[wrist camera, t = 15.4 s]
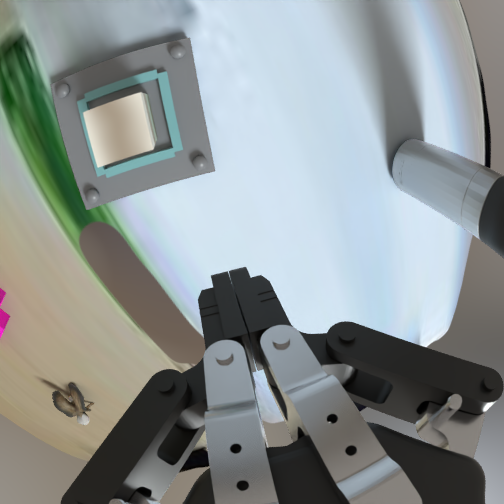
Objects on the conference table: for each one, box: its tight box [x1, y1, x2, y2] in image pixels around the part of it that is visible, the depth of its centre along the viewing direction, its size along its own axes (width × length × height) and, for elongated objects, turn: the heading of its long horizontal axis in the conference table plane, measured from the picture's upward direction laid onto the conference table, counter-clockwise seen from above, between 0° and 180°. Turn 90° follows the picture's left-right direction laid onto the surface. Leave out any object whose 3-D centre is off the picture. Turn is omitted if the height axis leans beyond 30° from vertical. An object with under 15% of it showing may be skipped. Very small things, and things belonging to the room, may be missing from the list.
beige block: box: [83, 92, 158, 168], centre depth 22 cm, size 5×5×8 cm
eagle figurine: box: [52, 383, 94, 425], centre depth 44 cm, size 8×7×9 cm
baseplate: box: [51, 38, 215, 210], centre depth 26 cm, size 16×16×2 cm
